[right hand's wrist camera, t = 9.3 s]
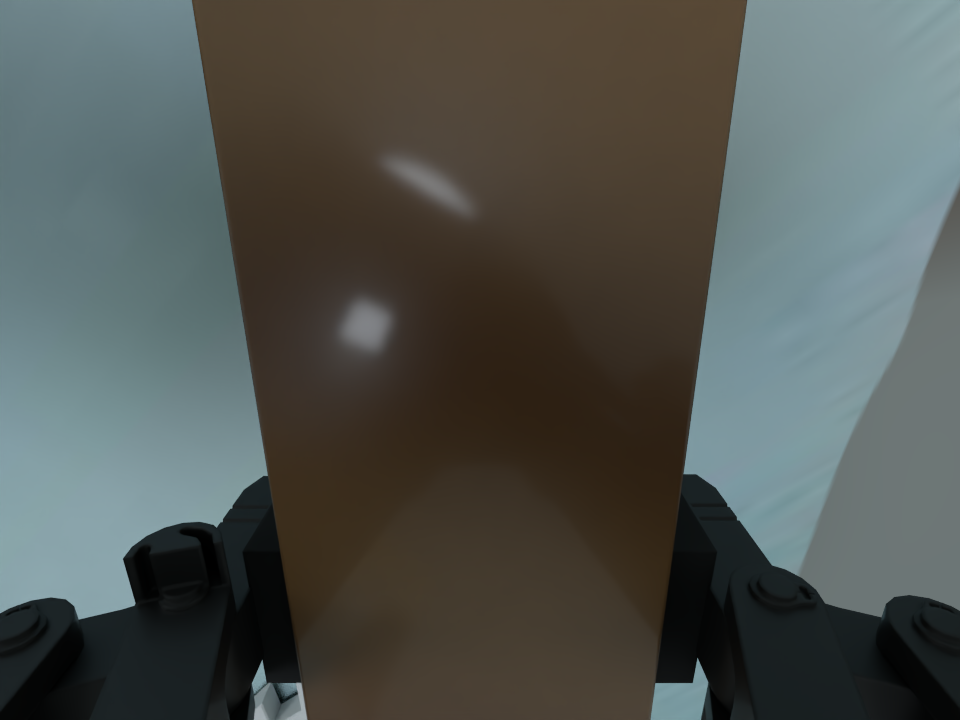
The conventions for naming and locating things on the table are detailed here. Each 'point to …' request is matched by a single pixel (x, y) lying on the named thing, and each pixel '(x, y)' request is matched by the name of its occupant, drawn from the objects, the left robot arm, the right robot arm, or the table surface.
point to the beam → (473, 331)
